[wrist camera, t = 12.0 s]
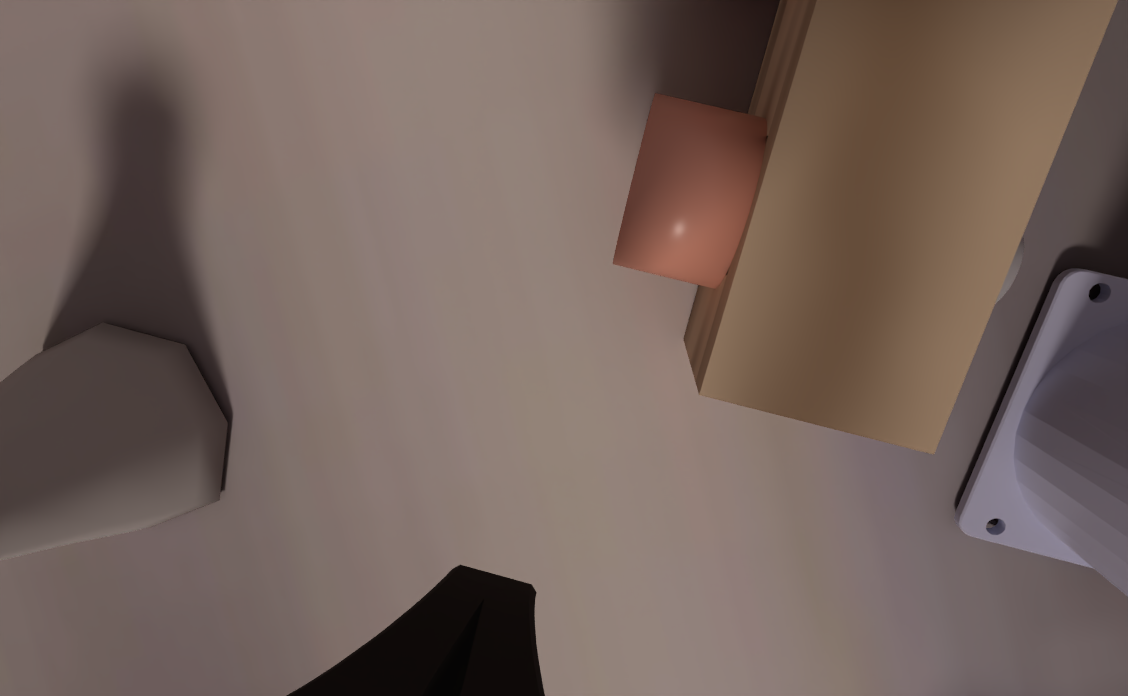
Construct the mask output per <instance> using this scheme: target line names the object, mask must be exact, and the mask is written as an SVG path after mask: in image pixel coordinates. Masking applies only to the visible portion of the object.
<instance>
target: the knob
mask: <svg viewBox="0 0 1128 696" xmlns="http://www.w3.org/2000/svg"><path fill="white" fill-rule="evenodd" d="M766 137H767V121H766V119H765V118H763V117H759V116H754V115H750V114H746V113H741V112H737V111H732V110H728V109H724V108H719V107H715V106H710V105H706V104H702V103H697V102H693V101H688V100H684V99H680V98H675V97H671V96H666V95H662V94H658V93H655V95H654V98H653V102H652V105H651V109H650V113H649V116H648V120H647V124H646V128H645V131H644V135H643V139H642V143H641V147H640V151H639V155H638V159H637V163H636V167H635V171H634V175H633V179H632V183H631V187H630V191H629V195H628V199H627V203H626V207H625V212H624V216H623V220H622V224H621V228H620V233H619V237H618V241H617V246H616V250H615V255H614V260H613V264H615V265H619V266H623V267H627V268H631V269H635V270H639V271H643V272H647V273H652V274H656V275H660V276H664V277H668V278H672V279H676V280H680V281H684V282H688V283H693V284H697V285H701V286H705V287H709V288H713V289H716V288H717V287H718V286H719V285H720V284H721V282H722V281H723V279H724V277H725V275H726V273H727V271H728V269H729V267H730V265H731V262H732V260H733V258H734V255H735V253H736V250H737V247H738V245H739V242H740V239H741V236H742V234H743V231H744V228H745V225H746V221H747V218H748V215H749V212H750V209H751V205H752V202H753V198H754V195H755V191H756V187H757V183H758V179H759V175H760V171H761V166H762V161H763V156H764V151H765V145H766ZM1023 253H1024V237H1023V236H1022V238H1021V241H1020V243H1019V246H1018V248H1017V251H1016V253H1015V256H1014V258H1013V261H1012V263H1011V265H1010V268H1009V270H1008V273H1007V275H1006V278H1005V280H1004V283H1003V285H1002V288H1001V290H1000V293H999V295H998V298H997V300H996V302H998V301H999V300H1000V299H1001V298H1002V297H1003V296H1004V295H1005V293H1006V292H1007V291H1008V289H1009V288H1010V286H1011V285H1012V283H1013V281H1014V280H1015V278H1016V276H1017V273H1018V271H1019V268H1020V266H1021V262H1022V258H1023Z"/></svg>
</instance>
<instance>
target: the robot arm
mask: <svg viewBox="0 0 1128 696" xmlns="http://www.w3.org/2000/svg"><path fill="white" fill-rule="evenodd" d="M1096 284H1099V286H1100V288H1101V290H1100V294H1099V295H1098V296H1097V298H1095V299H1093V300H1090V298H1089V290H1090V289H1091V288H1092V287H1093V286H1094V285H1096ZM994 518H997V519H998V523H997V524H996V525H995V526H994V527H992V528H986V524H987V523H988V522H989V521H990V520H992V519H994ZM954 519H955V522H956V524H957V526H958V527H959V528H960V529H961V530H962V531H963V532H964V533H965V534H967V535H969V536H971V537H975V538H979V539H983V540H987V541H991V542H994V543H998V544H1002V545H1006V546H1010V547H1014V548H1017V549H1021V550H1025V551H1029V552H1033V553H1037V554H1040V555H1044V556H1048V557H1052V558H1056V559H1060V560H1063V561H1067V562H1071V563H1075V564H1079V565H1083V566H1086V567H1090V568H1094V569H1095V570H1096V571H1098V572H1099V573H1100V574H1101V575H1102V576H1104V577H1105V578H1106V579H1107V580H1109V581H1110V582H1111V583H1112V584H1113V585H1115V586H1116V587H1117V588H1118V589H1119V590H1121V591H1122V592H1123V593H1124V594H1125V595H1127V596H1128V279H1125V278H1120V277H1116V276H1112V275H1107V274H1103V273H1099V272H1095V271H1090V270H1086V269H1080V268H1071V269H1068V270H1065V271H1063V272H1062V273H1060V274H1059V275H1058V276H1057V277H1056V278H1055V280H1054V281H1053V283H1052V286H1051V288H1050V290H1049V293H1048V295H1047V298H1046V300H1045V302H1044V305H1043V307H1042V309H1041V312H1040V314H1039V316H1038V319H1037V321H1036V323H1035V326H1034V328H1033V331H1032V333H1031V335H1030V338H1029V340H1028V342H1027V345H1026V347H1025V349H1024V352H1023V354H1022V356H1021V359H1020V361H1019V363H1018V366H1017V368H1016V371H1015V373H1014V375H1013V378H1012V380H1011V382H1010V385H1009V387H1008V389H1007V392H1006V394H1005V396H1004V399H1003V401H1002V404H1001V406H1000V408H999V411H998V413H997V415H996V418H995V420H994V422H993V425H992V427H991V429H990V432H989V434H988V436H987V439H986V441H985V444H984V446H983V448H982V451H981V453H980V455H979V458H978V460H977V462H976V465H975V467H974V469H973V472H972V474H971V477H970V479H969V481H968V484H967V486H966V488H965V491H964V493H963V495H962V498H961V500H960V502H959V505H958V507H957V509H956V512H955V517H954ZM535 597H536V591H535V589H534V588H533V586H532V584H528V583H524V582H521V581H517V580H514V579H510V578H506V577H503V576H499V575H495V574H492V573H488V572H485V571H481V570H477V569H474V568H470V567H466V566H463V565H459V566H457V567H455V568H454V569H452V570H451V571H450V572H449V573H448V574H447V575H446V576H445V577H444V578H443V579H442V580H441V581H440V582H439V583H438V584H437V585H436V586H435V587H434V588H433V589H432V590H431V591H430V592H429V593H427V594H426V595H425V596H424V597H423V598H422V599H421V600H420V601H418V602H417V603H416V604H415V605H414V606H413V607H412V608H410V609H409V610H408V611H407V612H405V613H404V614H403V615H402V616H401V617H399V618H398V619H397V620H396V621H394V622H393V623H392V624H391V625H389V626H388V627H387V628H386V629H385V630H383V631H382V632H381V633H379V634H378V635H377V636H376V637H374V638H373V639H371V640H370V641H369V642H367V643H366V644H365V645H363V646H362V647H360V648H359V649H358V650H356V651H355V652H353V653H352V654H351V655H349V656H348V657H346V658H345V659H344V660H342V661H341V662H339V663H338V664H337V665H335V666H334V667H332V668H331V669H329V670H328V671H326V672H324V673H323V674H321V675H320V676H318V677H317V678H315V679H314V680H312V681H310V682H309V683H307V684H306V685H304V686H302V687H301V688H299V689H297V690H296V691H294V692H292V693H290V694H289V695H287V696H545V694H544V689H543V684H542V678H541V672H540V666H539V660H538V653H537V645H536V634H535V617H534V609H535Z"/></svg>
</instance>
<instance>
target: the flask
mask: <svg viewBox="0 0 1128 696" xmlns="http://www.w3.org/2000/svg"><path fill="white" fill-rule="evenodd" d="M227 427H228V423H227V421H226V419H225V417H224V415H223V413H222V412H221V410H220V408H219V406H218V404H217V402H216V401H215V399H214V397H213V395H212V393H211V391H210V390H209V388H208V386H207V384H206V382H205V380H204V379H203V377H202V375H201V373H200V371H199V369H198V368H197V366H196V364H195V362H194V360H193V358H192V357H191V355H190V353H189V351H188V349H187V347H186V346H185V344H181V343H177V342H173V341H170V340H166V339H162V338H158V337H155V336H151V335H147V334H143V333H140V332H136V331H132V330H129V329H125V328H121V327H117V326H114V325H110V324H106V323H101V324H99V325H97V326H94V327H92V328H90V329H88V330H86V331H84V332H82V333H80V334H78V335H76V336H74V337H72V338H70V339H68V340H65V341H63V342H61V343H59V344H57V345H55V346H53V347H51V348H49V349H47V350H45V351H43V352H41V353H39V354H36V355H35V356H34V357H32V358H31V359H30V360H28V361H27V362H26V363H24V364H23V365H22V366H20V367H19V368H18V369H16V370H15V371H14V372H13V373H11V374H10V375H9V376H8V377H7V378H5V379H4V380H3V381H2V382H0V561H1V560H5V559H9V558H13V557H18V556H22V555H26V554H30V553H34V552H38V551H42V550H46V549H51V548H55V547H59V546H63V545H68V544H73V543H78V542H83V541H88V540H93V539H98V538H103V537H108V536H112V535H117V534H122V533H127V532H132V531H136V530H140V529H145V528H149V527H153V526H156V525H158V524H161V523H163V522H166V521H168V520H171V519H173V518H176V517H178V516H181V515H183V514H186V513H188V512H191V511H193V510H196V509H198V508H201V507H204V506H206V505H209V504H211V503H214V502H216V501H219V500H220V491H221V481H222V472H223V463H224V454H225V445H226V436H227Z"/></svg>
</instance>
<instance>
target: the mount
mask: <svg viewBox="0 0 1128 696" xmlns="http://www.w3.org/2000/svg"><path fill="white" fill-rule="evenodd" d="M1117 1H1118V0H780V2H779V6H778V9H777V13H776V16H775V20H774V23H773V27H772V30H771V34H770V37H769V41H768V44H767V48H766V51H765V55H764V58H763V62H762V65H761V69H760V72H759V76H758V79H757V83H756V86H755V90H754V93H753V97H752V100H751V104H750V108H749V111H748V114H750V115H754V116H759V117H763V118H765V119H766V121H767V137H766V145H765V151H764V156H763V161H762V166H761V171H760V175H759V179H758V183H757V187H756V191H755V195H754V198H753V202H752V205H751V209H750V212H749V215H748V218H747V221H746V225H745V228H744V231H743V234H742V236H741V239H740V242H739V245H738V247H737V250H736V253H735V255H734V258H733V260H732V262H731V265H730V267H729V269H728V271H727V273H726V275H725V277H724V279H723V281H722V282H721V284H720V285H719V286H718V287H717V288H716V289H713V288H709V287H705V286H701V285H699V287H698V290H697V294H696V297H695V301H694V304H693V308H692V311H691V315H690V318H689V322H688V325H687V329H686V332H685V336H684V343H685V346H686V350H687V353H688V357H689V361H690V364H691V368H692V371H693V375H694V378H695V382H696V385H697V389H698V392H699V395H702V396H706V397H710V398H714V399H718V400H721V401H725V402H729V403H733V404H737V405H741V406H745V407H749V408H753V409H757V410H761V411H765V412H769V413H773V414H777V415H780V416H784V417H788V418H792V419H796V420H800V421H804V422H808V423H812V424H816V425H820V426H824V427H828V428H832V429H835V430H839V431H843V432H847V433H851V434H855V435H859V436H863V437H867V438H871V439H875V440H879V441H883V442H887V443H891V444H894V445H898V446H902V447H906V448H910V449H914V450H918V451H922V452H926V453H930V454H934V453H935V451H936V448H937V446H938V443H939V441H940V438H941V436H942V433H943V431H944V428H945V426H946V423H947V421H948V419H949V416H950V414H951V411H952V409H953V406H954V404H955V401H956V399H957V396H958V394H959V391H960V389H961V386H962V384H963V381H964V379H965V377H966V374H967V372H968V369H969V367H970V364H971V362H972V359H973V357H974V354H975V352H976V349H977V347H978V344H979V342H980V340H981V337H982V335H983V332H984V330H985V327H986V325H987V322H988V320H989V317H990V315H991V312H992V310H993V307H994V305H995V303H996V300H997V298H998V295H999V293H1000V290H1001V288H1002V285H1003V283H1004V280H1005V278H1006V275H1007V273H1008V270H1009V268H1010V265H1011V263H1012V261H1013V258H1014V256H1015V253H1016V251H1017V248H1018V246H1019V243H1020V241H1021V238H1022V236H1023V233H1024V231H1025V228H1026V226H1027V224H1028V221H1029V219H1030V216H1031V214H1032V211H1033V209H1034V206H1035V204H1036V201H1037V199H1038V196H1039V194H1040V191H1041V189H1042V186H1043V184H1044V182H1045V179H1046V177H1047V174H1048V172H1049V169H1050V167H1051V164H1052V162H1053V159H1054V157H1055V154H1056V152H1057V149H1058V147H1059V145H1060V142H1061V140H1062V137H1063V135H1064V132H1065V130H1066V127H1067V125H1068V122H1069V120H1070V117H1071V115H1072V112H1073V110H1074V108H1075V105H1076V103H1077V100H1078V98H1079V95H1080V93H1081V90H1082V88H1083V85H1084V83H1085V80H1086V78H1087V75H1088V73H1089V70H1090V68H1091V66H1092V63H1093V61H1094V58H1095V56H1096V53H1097V51H1098V48H1099V46H1100V43H1101V41H1102V38H1103V36H1104V33H1105V31H1106V29H1107V26H1108V24H1109V21H1110V19H1111V16H1112V14H1113V11H1114V9H1115V6H1116V4H1117Z"/></svg>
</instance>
